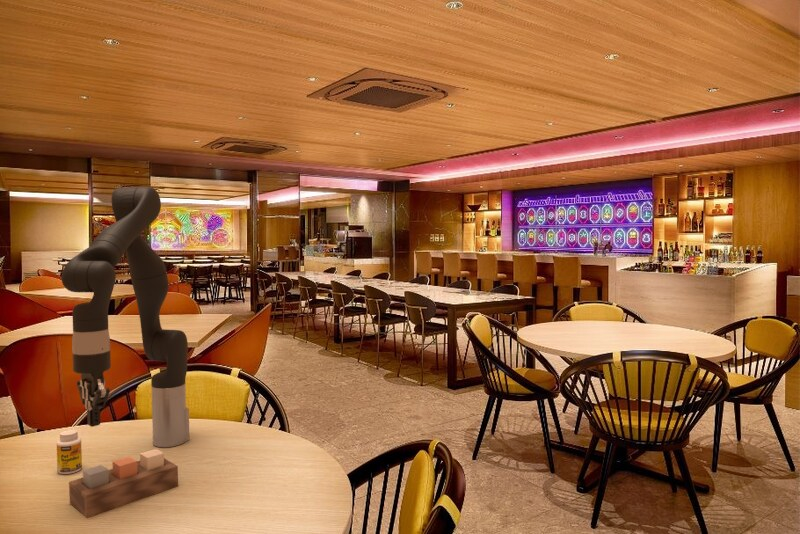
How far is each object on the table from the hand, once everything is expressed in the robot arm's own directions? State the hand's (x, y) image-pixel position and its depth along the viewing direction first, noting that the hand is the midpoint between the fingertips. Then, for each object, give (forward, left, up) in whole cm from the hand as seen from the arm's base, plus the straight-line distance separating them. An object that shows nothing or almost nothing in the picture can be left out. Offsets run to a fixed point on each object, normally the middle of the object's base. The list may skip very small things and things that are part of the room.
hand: (94, 425), depth 132 cm
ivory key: (-13, 0, -14) cm, 19 cm away
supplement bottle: (-3, -24, -19) cm, 30 cm away
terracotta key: (-7, 0, -14) cm, 16 cm away
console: (-7, 0, -18) cm, 20 cm away
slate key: (0, 0, -14) cm, 14 cm away
